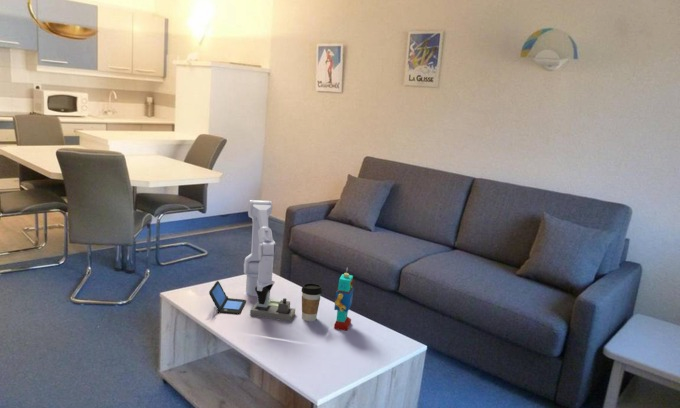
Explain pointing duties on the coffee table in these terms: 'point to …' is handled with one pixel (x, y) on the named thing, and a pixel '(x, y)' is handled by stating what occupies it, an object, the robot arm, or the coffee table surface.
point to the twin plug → (284, 306)
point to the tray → (273, 303)
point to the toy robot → (343, 301)
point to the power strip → (271, 312)
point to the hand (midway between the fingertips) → (263, 301)
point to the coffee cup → (310, 301)
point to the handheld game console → (225, 301)
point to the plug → (265, 300)
